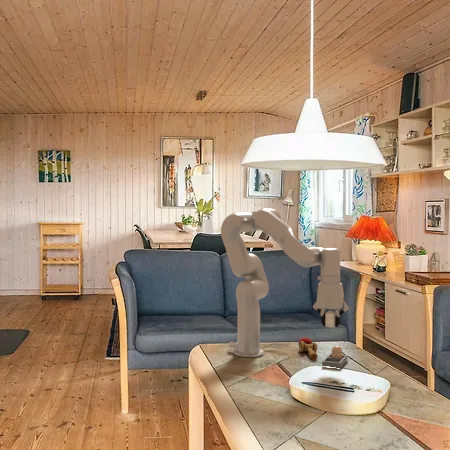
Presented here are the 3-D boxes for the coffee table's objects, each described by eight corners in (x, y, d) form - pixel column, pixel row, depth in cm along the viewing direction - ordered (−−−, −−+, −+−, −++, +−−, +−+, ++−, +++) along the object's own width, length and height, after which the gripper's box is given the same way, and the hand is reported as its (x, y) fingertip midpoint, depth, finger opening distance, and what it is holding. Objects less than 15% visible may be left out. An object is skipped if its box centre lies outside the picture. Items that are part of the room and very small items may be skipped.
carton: (322, 367, 237) (322, 350, 237) (330, 359, 249) (330, 343, 249) (339, 369, 234) (340, 352, 234) (347, 361, 247) (347, 344, 246)
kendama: (324, 362, 249) (313, 346, 267) (322, 348, 248) (311, 332, 266) (306, 366, 249) (296, 349, 266) (304, 352, 247) (294, 336, 265)
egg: (323, 327, 238) (323, 311, 237) (326, 325, 242) (326, 309, 241) (334, 327, 236) (334, 312, 236) (337, 325, 240) (337, 310, 240)
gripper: (307, 279, 238) (307, 326, 239) (350, 281, 231) (350, 329, 232) (312, 277, 245) (312, 322, 246) (354, 279, 238) (354, 325, 239)
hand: (330, 325), depth 239 cm, fingers closed on egg, 4 cm apart
